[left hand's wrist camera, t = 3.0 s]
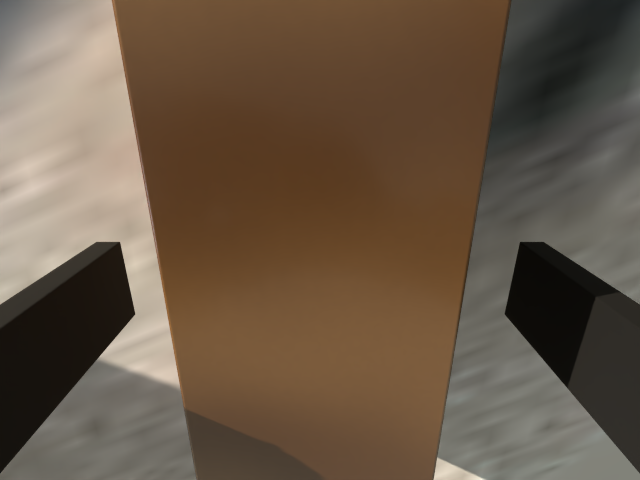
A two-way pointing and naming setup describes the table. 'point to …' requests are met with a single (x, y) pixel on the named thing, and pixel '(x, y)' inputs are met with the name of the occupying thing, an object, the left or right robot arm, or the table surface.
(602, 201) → the table surface
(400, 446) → the bar
